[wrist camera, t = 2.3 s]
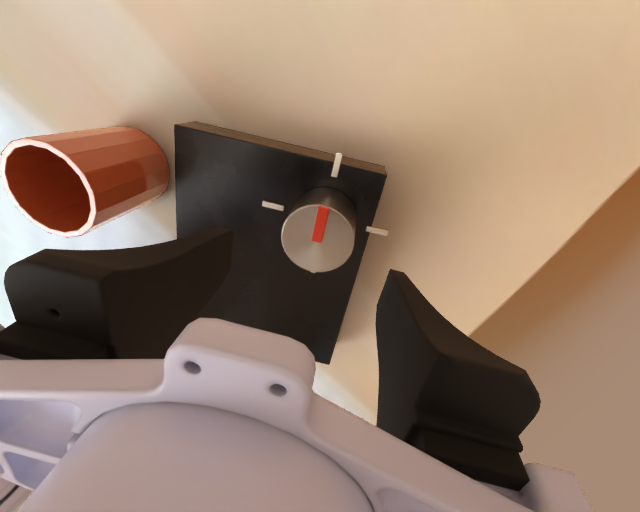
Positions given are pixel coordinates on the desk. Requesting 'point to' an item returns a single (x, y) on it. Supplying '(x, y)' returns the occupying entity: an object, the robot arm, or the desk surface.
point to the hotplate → (271, 227)
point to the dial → (320, 230)
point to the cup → (83, 177)
